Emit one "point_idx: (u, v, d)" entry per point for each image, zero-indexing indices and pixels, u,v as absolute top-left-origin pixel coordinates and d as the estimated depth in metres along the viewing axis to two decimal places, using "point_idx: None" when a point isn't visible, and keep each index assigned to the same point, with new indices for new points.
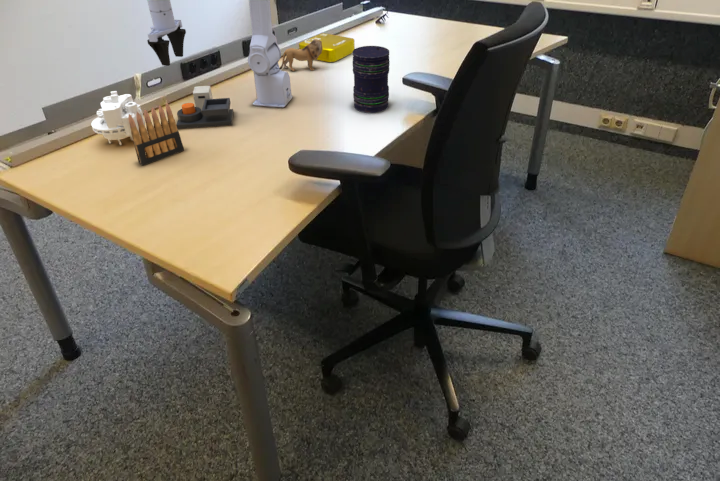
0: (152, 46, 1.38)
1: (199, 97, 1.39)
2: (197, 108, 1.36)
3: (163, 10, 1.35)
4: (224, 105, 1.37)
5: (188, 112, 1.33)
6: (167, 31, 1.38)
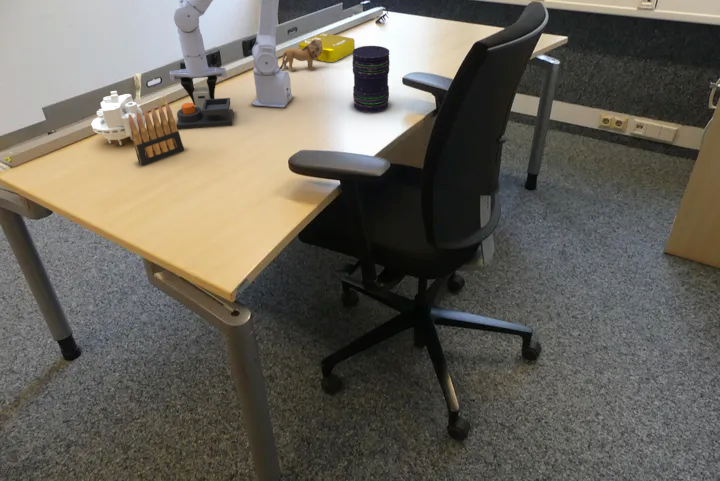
0: None
1: (199, 97, 1.39)
2: (197, 108, 1.36)
3: (201, 54, 1.33)
4: (224, 105, 1.37)
5: (188, 112, 1.33)
6: (186, 75, 1.35)
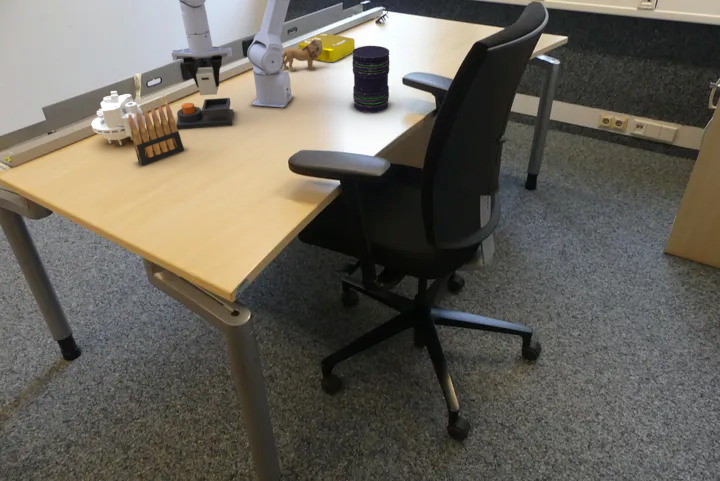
0: None
1: (203, 79, 1.31)
2: (197, 108, 1.36)
3: (208, 30, 1.25)
4: (224, 105, 1.37)
5: (188, 112, 1.33)
6: (189, 54, 1.27)
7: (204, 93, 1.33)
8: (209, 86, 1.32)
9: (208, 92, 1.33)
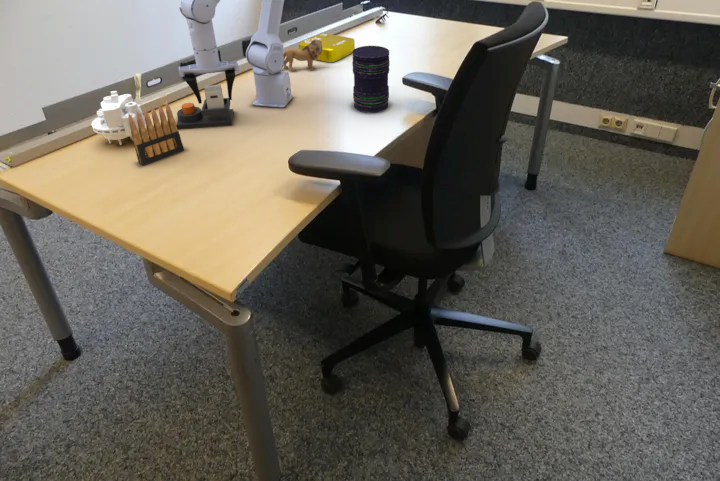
0: None
1: (212, 97, 1.31)
2: (197, 108, 1.36)
3: (215, 45, 1.26)
4: (224, 105, 1.37)
5: (188, 112, 1.33)
6: (197, 70, 1.26)
7: None
8: (218, 104, 1.32)
9: None
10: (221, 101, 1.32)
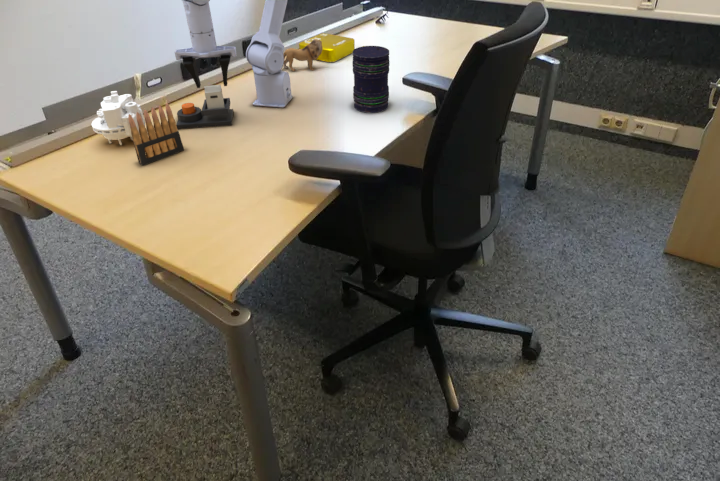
0: (228, 64, 1.28)
1: (212, 97, 1.31)
2: (197, 108, 1.36)
3: (212, 28, 1.23)
4: (224, 105, 1.37)
5: (188, 112, 1.33)
6: None
7: None
8: (218, 104, 1.32)
9: None
10: (221, 101, 1.32)
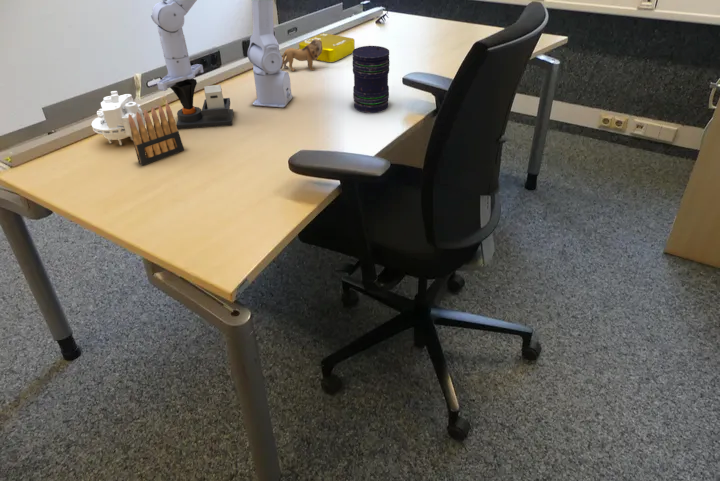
0: None
1: (212, 97, 1.31)
2: (197, 108, 1.36)
3: (186, 54, 1.25)
4: (224, 105, 1.37)
5: None
6: None
7: None
8: (218, 104, 1.32)
9: None
10: (221, 101, 1.32)
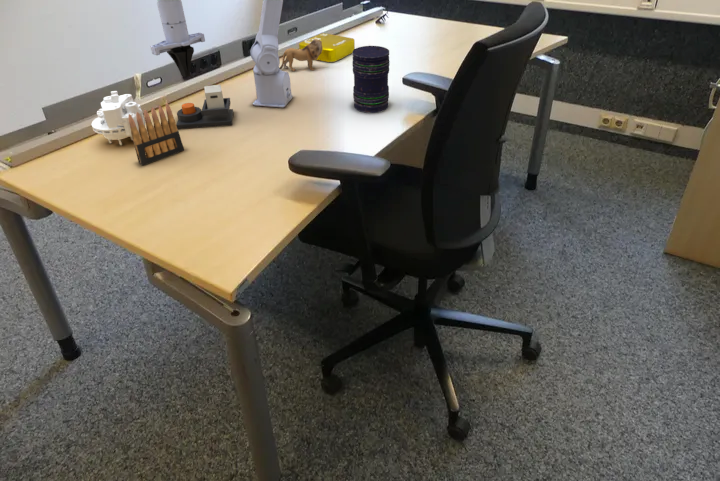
0: None
1: (212, 97, 1.31)
2: (197, 108, 1.36)
3: (182, 21, 1.26)
4: (224, 105, 1.37)
5: (188, 112, 1.33)
6: None
7: None
8: (218, 104, 1.32)
9: None
10: (221, 101, 1.32)
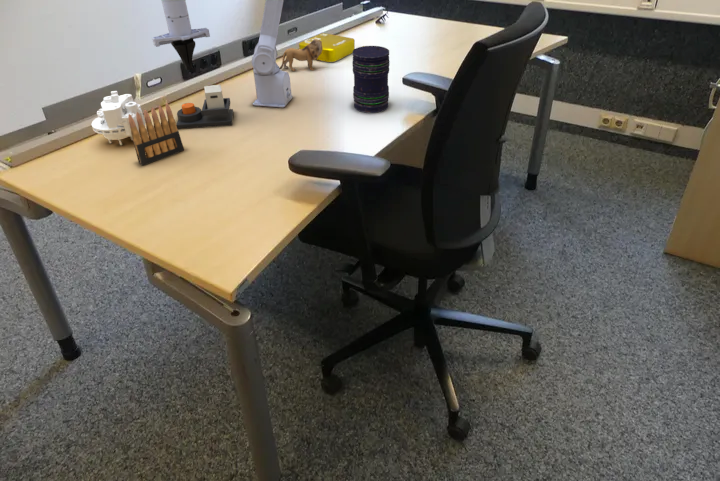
0: None
1: (212, 97, 1.31)
2: (197, 108, 1.36)
3: (182, 15, 1.29)
4: (224, 105, 1.37)
5: (188, 112, 1.33)
6: None
7: None
8: (218, 104, 1.32)
9: None
10: (221, 101, 1.32)
